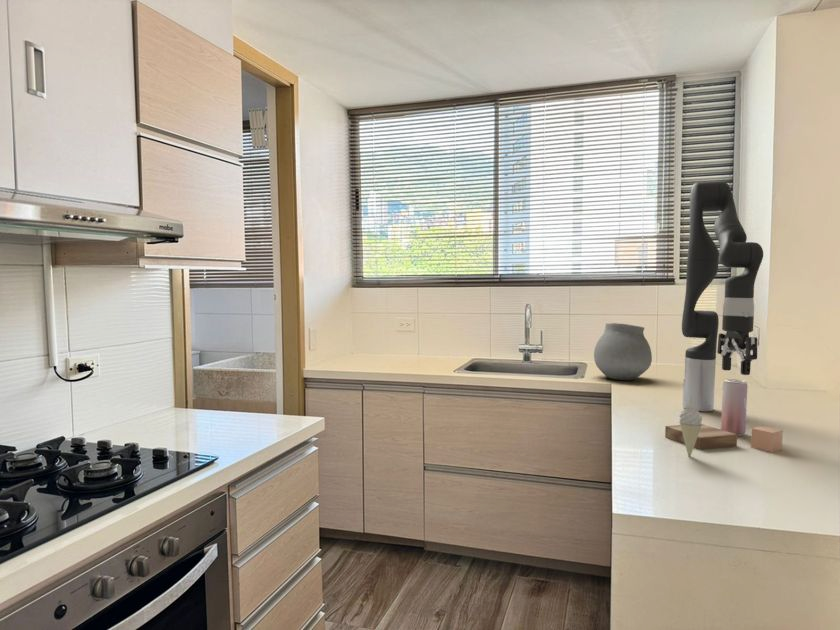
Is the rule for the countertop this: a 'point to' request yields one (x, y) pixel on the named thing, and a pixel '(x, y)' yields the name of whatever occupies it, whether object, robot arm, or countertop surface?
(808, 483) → the countertop surface
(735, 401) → the beverage can
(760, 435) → the terracotta cube
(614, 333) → the ceramic pot
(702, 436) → the pedestal
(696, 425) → the ice cream cone
